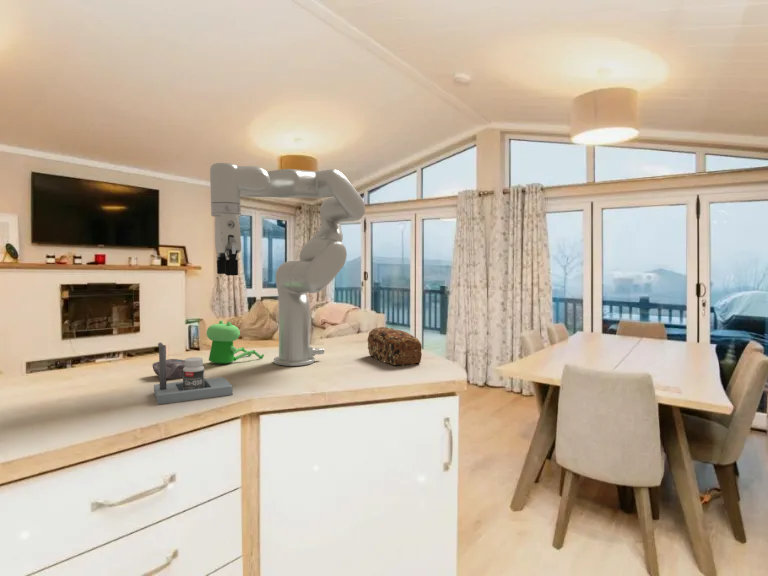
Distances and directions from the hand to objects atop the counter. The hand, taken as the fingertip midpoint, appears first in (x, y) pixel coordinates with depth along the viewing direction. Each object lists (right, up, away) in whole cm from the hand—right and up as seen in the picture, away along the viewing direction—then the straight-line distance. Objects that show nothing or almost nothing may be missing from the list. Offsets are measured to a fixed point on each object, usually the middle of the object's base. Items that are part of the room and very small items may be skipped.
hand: (227, 274), depth 127 cm
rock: (-15, -28, +1) cm, 32 cm away
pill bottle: (-3, -29, -16) cm, 33 cm away
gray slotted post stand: (-3, -29, -16) cm, 33 cm away
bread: (+46, -27, +26) cm, 59 cm away
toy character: (-5, -27, +20) cm, 34 cm away
